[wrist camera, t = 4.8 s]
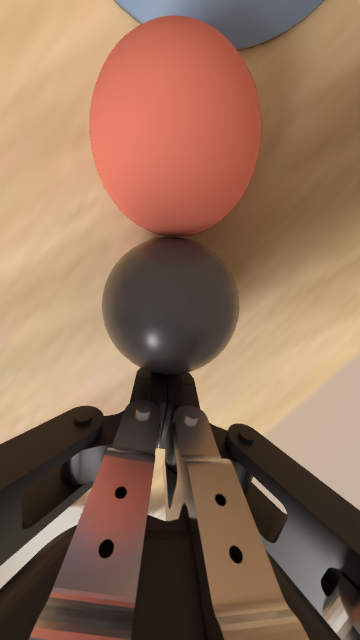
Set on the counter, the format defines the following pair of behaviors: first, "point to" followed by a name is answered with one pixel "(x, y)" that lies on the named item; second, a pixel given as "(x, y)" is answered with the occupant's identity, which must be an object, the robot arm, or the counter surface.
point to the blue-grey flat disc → (229, 16)
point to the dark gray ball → (170, 305)
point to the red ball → (175, 125)
